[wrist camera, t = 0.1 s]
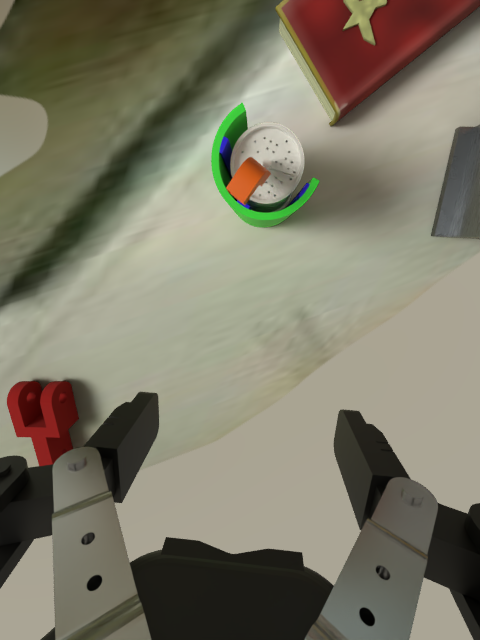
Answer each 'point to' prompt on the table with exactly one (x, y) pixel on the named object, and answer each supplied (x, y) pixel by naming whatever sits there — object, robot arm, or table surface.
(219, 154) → the green-shelled ribbed roller
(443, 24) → the hardcover book
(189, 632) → the robot arm
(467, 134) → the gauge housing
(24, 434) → the mechanical linkage
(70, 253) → the table surface
